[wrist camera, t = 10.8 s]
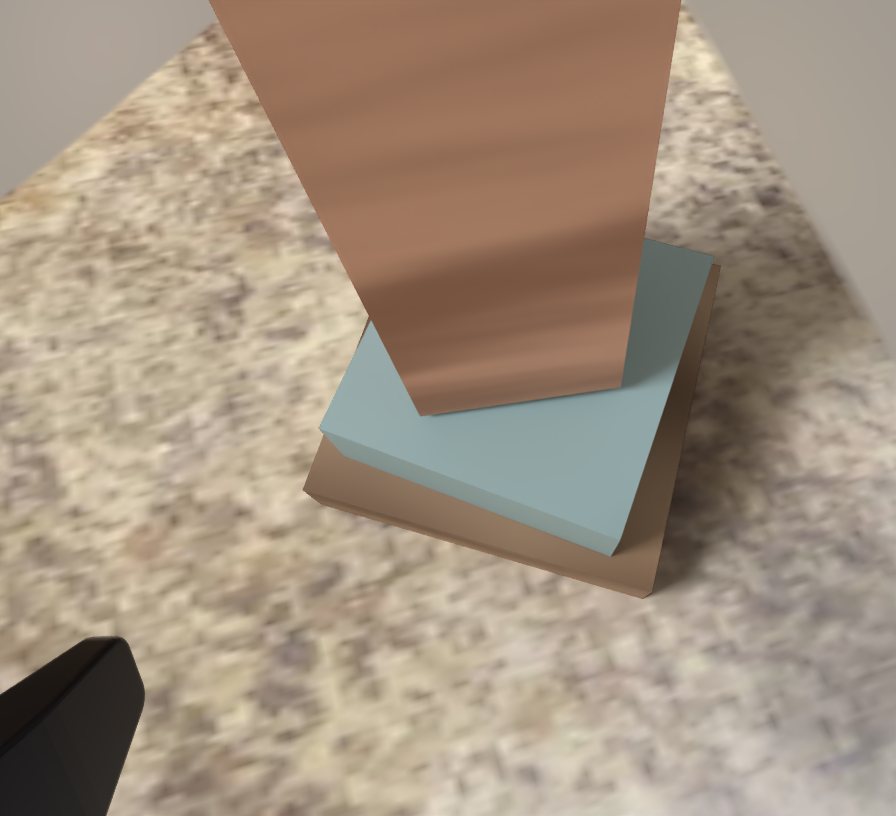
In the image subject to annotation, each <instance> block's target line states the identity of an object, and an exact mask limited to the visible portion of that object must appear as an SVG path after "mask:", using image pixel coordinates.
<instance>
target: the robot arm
mask: <svg viewBox="0 0 896 816" xmlns="http://www.w3.org/2000/svg"><path fill="white" fill-rule="evenodd" d="M144 701H145V690H144V685H143V682H142V679H141V676H140V674H139V671H138V668H137V666H136V663H135V660H134V658H133V655H132V652H131V649H130V647H129V645H128V643H127V641H126V640H125V639H123V638H122V637H119V636H102V637H90V638H87V639H84V640H83V641H81V642H79V643H78V644H76V645H75V646H73V647H72V648H70V649H69V650H67V651H66V652H64V653H63V654H61V655H60V656H58V657H57V658H55V659H54V660H52V661H51V662H49V663H47V664H46V665H44V666H43V667H41V668H40V669H38V670H37V671H35V672H34V673H32V674H31V675H29V676H28V677H26V678H25V679H23V680H22V681H20V682H19V683H17V684H16V685H14V686H12V687H11V688H9V689H8V690H6V691H5V692H3V693H2V694H0V816H106V815H107V812H108V809H109V806H110V803H111V801H112V798H113V795H114V792H115V789H116V786H117V783H118V780H119V777H120V774H121V771H122V769H123V766H124V763H125V760H126V757H127V754H128V751H129V748H130V745H131V742H132V739H133V736H134V734H135V731H136V728H137V725H138V722H139V719H140V716H141V713H142V710H143V706H144Z"/></svg>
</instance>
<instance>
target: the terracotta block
mask: <svg viewBox="0 0 896 816" xmlns="http://www.w3.org/2000/svg"><path fill="white" fill-rule="evenodd" d="M209 2H210V4H211V6H212V8H213V10H214V12H215V14H216V16H217V18H218V20H219V21H220V23H221V25H222V27H223V29H224V31H225V33H226V35H227V37H228V39H229V41H230V43H231V45H232V47H233V49H234V51H235V53H236V55H237V57H238V59H239V61H240V63H241V65H242V67H243V69H244V71H245V73H246V75H247V77H248V79H249V81H250V83H251V85H252V86H253V88H254V90H255V92H256V94H257V96H258V98H259V100H260V102H261V104H262V106H263V108H264V110H265V112H266V114H267V116H268V118H269V120H270V122H271V124H272V126H273V128H274V130H275V132H276V134H277V136H278V138H279V140H280V142H281V144H282V146H283V148H284V150H285V151H286V153H287V155H288V157H289V159H290V161H291V163H292V165H293V167H294V169H295V171H296V173H297V175H298V177H299V179H300V181H301V183H302V185H303V187H304V189H305V191H306V193H307V195H308V197H309V199H310V201H311V203H312V205H313V207H314V209H315V211H316V213H317V215H318V217H319V218H320V220H321V222H322V224H323V226H324V228H325V230H326V232H327V234H328V236H329V238H330V240H331V242H332V244H333V246H334V248H335V250H336V252H337V254H338V256H339V258H340V260H341V262H342V264H343V266H344V268H345V270H346V272H347V274H348V276H349V278H350V280H351V282H352V283H353V285H354V287H355V289H356V291H357V293H358V295H359V297H360V299H361V301H362V303H363V305H364V307H365V309H366V311H367V313H368V315H369V317H370V319H371V321H372V323H373V325H374V327H375V329H376V331H377V333H378V335H379V337H380V339H381V341H382V343H383V345H384V347H385V348H386V350H387V352H388V354H389V356H390V358H391V360H392V362H393V364H394V366H395V368H396V370H397V372H398V374H399V376H400V378H401V380H402V382H403V384H404V386H405V388H406V390H407V392H408V394H409V396H410V398H411V400H412V402H413V404H414V406H415V408H416V410H417V412H418V414H419V415H420V417H421V416H427V415H434V414H441V413H448V412H455V411H462V410H469V409H475V408H482V407H489V406H496V405H503V404H510V403H517V402H523V401H530V400H537V399H544V398H551V397H558V396H565V395H572V394H578V393H585V392H592V391H599V390H606V389H613V388H620V387H621V382H622V376H623V370H624V363H625V357H626V350H627V344H628V338H629V331H630V325H631V318H632V312H633V306H634V299H635V293H636V286H637V280H638V274H639V267H640V261H641V254H642V248H643V242H644V235H645V229H646V222H647V216H648V210H649V203H650V197H651V190H652V184H653V178H654V171H655V165H656V158H657V152H658V146H659V139H660V133H661V126H662V120H663V114H664V107H665V101H666V94H667V88H668V82H669V75H670V69H671V62H672V56H673V50H674V43H675V37H676V30H677V24H678V18H679V11H680V5H681V0H209Z"/></svg>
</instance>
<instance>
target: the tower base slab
mask: <svg viewBox="0 0 896 816" xmlns="http://www.w3.org/2000/svg"><path fill="white" fill-rule="evenodd" d="M720 267H721V266H720V265H715V264H712V265H711V268H710V271H709V274H708V277H707V280H706V283H705V286H704V289H703V292H702V295H701V298H700V301H699V304H698V307H697V310H696V313H695V316H694V319H693V322H692V325H691V328H690V331H689V334H688V337H687V340H686V343H685V346H684V349H683V352H682V355H681V358H680V361H679V364H678V367H677V370H676V373H675V376H674V379H673V383H672V386H671V389H670V392H669V395H668V398H667V401H666V404H665V407H664V410H663V413H662V416H661V419H660V422H659V425H658V428H657V431H656V434H655V437H654V440H653V443H652V446H651V449H650V452H649V455H648V458H647V461H646V464H645V467H644V470H643V473H642V476H641V479H640V482H639V485H638V488H637V491H636V494H635V497H634V500H633V503H632V506H631V509H630V512H629V515H628V518H627V521H626V524H625V527H624V530H623V533H622V536H621V539H620V541H619V543H618V545H617V547H616V548H615V550H614V552H613V553H612V555H611V557H610V556H607V555H604V554H602V553H599V552H596V551H594V550H591V549H588V548H586V547H583V546H580V545H578V544H575V543H573V542H570V541H567V540H565V539H562V538H559V537H557V536H554V535H551V534H549V533H546V532H544V531H541V530H538V529H536V528H533V527H530V526H528V525H525V524H522V523H520V522H517V521H514V520H512V519H509V518H507V517H504V516H501V515H499V514H496V513H493V512H491V511H488V510H485V509H483V508H480V507H477V506H475V505H472V504H470V503H467V502H464V501H462V500H459V499H456V498H454V497H451V496H448V495H446V494H443V493H440V492H438V491H435V490H433V489H430V488H427V487H425V486H422V485H419V484H417V483H414V482H411V481H409V480H406V479H403V478H401V477H398V476H396V475H393V474H390V473H388V472H385V471H382V470H380V469H377V468H375V467H372V466H369V465H367V464H364V463H361V462H359V461H356V460H353V459H351V458H348V457H346V456H344V455H343V454H342V453H341V452H340V451H339V450H338V449H337V448H336V447H335V446H334V445H333V443H332V442H331V441H330V440H329V439H328V438H327V437H326V436H325V435H323V438H322V441H321V443H320V446H319V449H318V451H317V454H316V456H315V459H314V462H313V464H312V467H311V470H310V472H309V475H308V477H307V480H306V483H305V485H304V488H303V491H304V492H306V493H307V494H308V495H310V496H311V497H312V498H314V499H315V500H316V501H318V502H319V503H320V504H322V505H325V506H329V507H332V508H336V509H339V510H342V511H346V512H349V513H352V514H356V515H359V516H363V517H366V518H369V519H373V520H376V521H380V522H383V523H386V524H390V525H393V526H397V527H400V528H403V529H407V530H410V531H414V532H417V533H420V534H424V535H427V536H431V537H434V538H437V539H441V540H444V541H448V542H451V543H454V544H458V545H461V546H465V547H468V548H471V549H475V550H478V551H481V552H485V553H488V554H492V555H495V556H498V557H502V558H505V559H509V560H512V561H515V562H519V563H522V564H526V565H529V566H532V567H536V568H539V569H543V570H546V571H549V572H553V573H556V574H560V575H563V576H566V577H570V578H573V579H577V580H580V581H583V582H587V583H590V584H593V585H597V586H600V587H604V588H607V589H610V590H614V591H617V592H621V593H624V594H627V595H631V596H634V597H638V598H641V599H643V598H644V597H646V596H647V595H648V594H650V593H651V592H652V590H653V585H654V580H655V575H656V571H657V566H658V561H659V556H660V552H661V547H662V542H663V537H664V533H665V528H666V523H667V518H668V514H669V509H670V504H671V499H672V495H673V490H674V485H675V481H676V476H677V471H678V466H679V462H680V457H681V452H682V447H683V443H684V438H685V433H686V428H687V424H688V419H689V414H690V409H691V405H692V400H693V395H694V390H695V386H696V381H697V376H698V371H699V367H700V362H701V357H702V352H703V348H704V343H705V338H706V333H707V329H708V324H709V319H710V315H711V310H712V305H713V300H714V296H715V291H716V286H717V281H718V277H719V272H720ZM370 321H371V319H370V317H368V320H367V323H366V325H365V328H364V331H363V333H362V336H361V338H360V341H359V344H360V342H361V340H362V338H363V336H364V334H365V331H366V329H367V327H368V325H369V323H370ZM359 344H358V346H359ZM358 346H357V348H358ZM356 350H357V349H356Z"/></svg>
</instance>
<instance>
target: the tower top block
mask: <svg viewBox="0 0 896 816" xmlns="http://www.w3.org/2000/svg"><path fill="white" fill-rule="evenodd" d="M713 259H714V256H711V255H707V254H703V253H700V252H696V251H692V250H688V249H684V248H680V247H677V246H673V245H669V244H665V243H661V242H657V241H654V240H650V239H646V238H644V242H643V248H642V254H641V261H640V267H639V274H638V280H637V286H636V293H635V299H634V306H633V312H632V318H631V325H630V331H629V338H628V344H627V350H626V357H625V363H624V370H623V376H622V382H621V387H620V388H613V389H606V390H599V391H592V392H585V393H578V394H572V395H565V396H558V397H551V398H544V399H537V400H530V401H523V402H517V403H510V404H503V405H496V406H489V407H482V408H475V409H469V410H462V411H455V412H448V413H441V414H434V415H427V416H421V417H420V415H419V414H418V412H417V410H416V408H415V406H414V404H413V402H412V400H411V398H410V396H409V394H408V392H407V390H406V388H405V386H404V384H403V382H402V380H401V378H400V376H399V374H398V372H397V370H396V368H395V366H394V364H393V362H392V360H391V358H390V356H389V354H388V352H387V350H386V348H385V347H384V345H383V343H382V341H381V339H380V337H379V335H378V333H377V331H376V329H375V327H374V325H373V323H372V321H370V323H369V325H368V327H367V329H366V331H365V334H364V336H363V338H362V340H361V342H360V344H359V346H358V348H357V350H356V352H355V354H354V356H353V358H352V360H351V362H350V364H349V367H348V369H347V371H346V373H345V375H344V377H343V379H342V381H341V383H340V385H339V387H338V389H337V391H336V393H335V395H334V397H333V400H332V402H331V404H330V406H329V408H328V410H327V412H326V414H325V416H324V418H323V420H322V422H321V424H320V426H319V429H320V430H321V432H322V433H323V434H324V435H325V436H326V437H327V438H328V439H329V440H330V441H331V442H332V443H333V445H334V446H335V447H336V448H337V449H338V450H339V451H340V452H341V453H342V454H343V455H344V456H346V457H348V458H351V459H353V460H356V461H359V462H361V463H364V464H367V465H369V466H372V467H375V468H377V469H380V470H382V471H385V472H388V473H390V474H393V475H396V476H398V477H401V478H403V479H406V480H409V481H411V482H414V483H417V484H419V485H422V486H425V487H427V488H430V489H433V490H435V491H438V492H440V493H443V494H446V495H448V496H451V497H454V498H456V499H459V500H462V501H464V502H467V503H470V504H472V505H475V506H477V507H480V508H483V509H485V510H488V511H491V512H493V513H496V514H499V515H501V516H504V517H507V518H509V519H512V520H514V521H517V522H520V523H522V524H525V525H528V526H530V527H533V528H536V529H538V530H541V531H544V532H546V533H549V534H551V535H554V536H557V537H559V538H562V539H565V540H567V541H570V542H573V543H575V544H578V545H580V546H583V547H586V548H588V549H591V550H594V551H596V552H599V553H602V554H604V555H607V556H610V557H611V555H612V553H613V552H614V550H615V548H616V547H617V545H618V543H619V541H620V539H621V536H622V533H623V530H624V527H625V524H626V521H627V518H628V515H629V512H630V509H631V506H632V503H633V500H634V497H635V494H636V491H637V488H638V485H639V482H640V479H641V476H642V473H643V470H644V467H645V464H646V461H647V458H648V455H649V452H650V449H651V446H652V443H653V440H654V437H655V434H656V431H657V428H658V425H659V422H660V419H661V416H662V413H663V410H664V407H665V404H666V401H667V398H668V395H669V392H670V389H671V386H672V383H673V379H674V376H675V373H676V370H677V367H678V364H679V361H680V358H681V355H682V352H683V349H684V346H685V343H686V340H687V337H688V334H689V331H690V328H691V325H692V322H693V319H694V316H695V313H696V310H697V307H698V304H699V301H700V298H701V295H702V292H703V289H704V286H705V283H706V280H707V277H708V274H709V271H710V268H711V265H712V262H713Z"/></svg>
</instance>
